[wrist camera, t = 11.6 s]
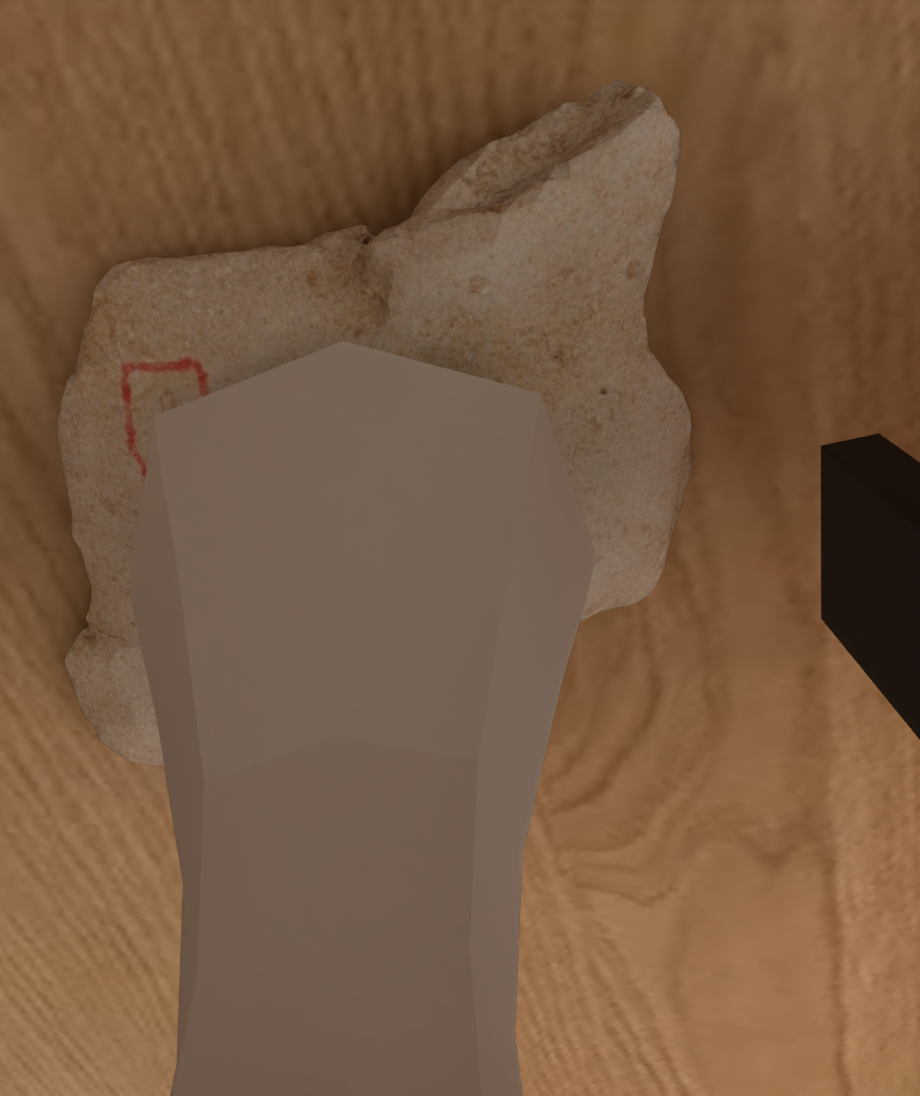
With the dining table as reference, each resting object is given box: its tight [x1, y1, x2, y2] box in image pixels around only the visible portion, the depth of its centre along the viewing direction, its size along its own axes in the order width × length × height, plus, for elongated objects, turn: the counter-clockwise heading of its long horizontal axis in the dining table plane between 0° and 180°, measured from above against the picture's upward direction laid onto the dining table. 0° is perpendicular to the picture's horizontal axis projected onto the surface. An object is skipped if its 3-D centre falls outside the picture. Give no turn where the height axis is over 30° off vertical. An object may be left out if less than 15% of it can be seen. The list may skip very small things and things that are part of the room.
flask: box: [129, 341, 596, 1096], centre depth 9 cm, size 7×7×10 cm
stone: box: [57, 80, 693, 766], centre depth 15 cm, size 13×11×3 cm
